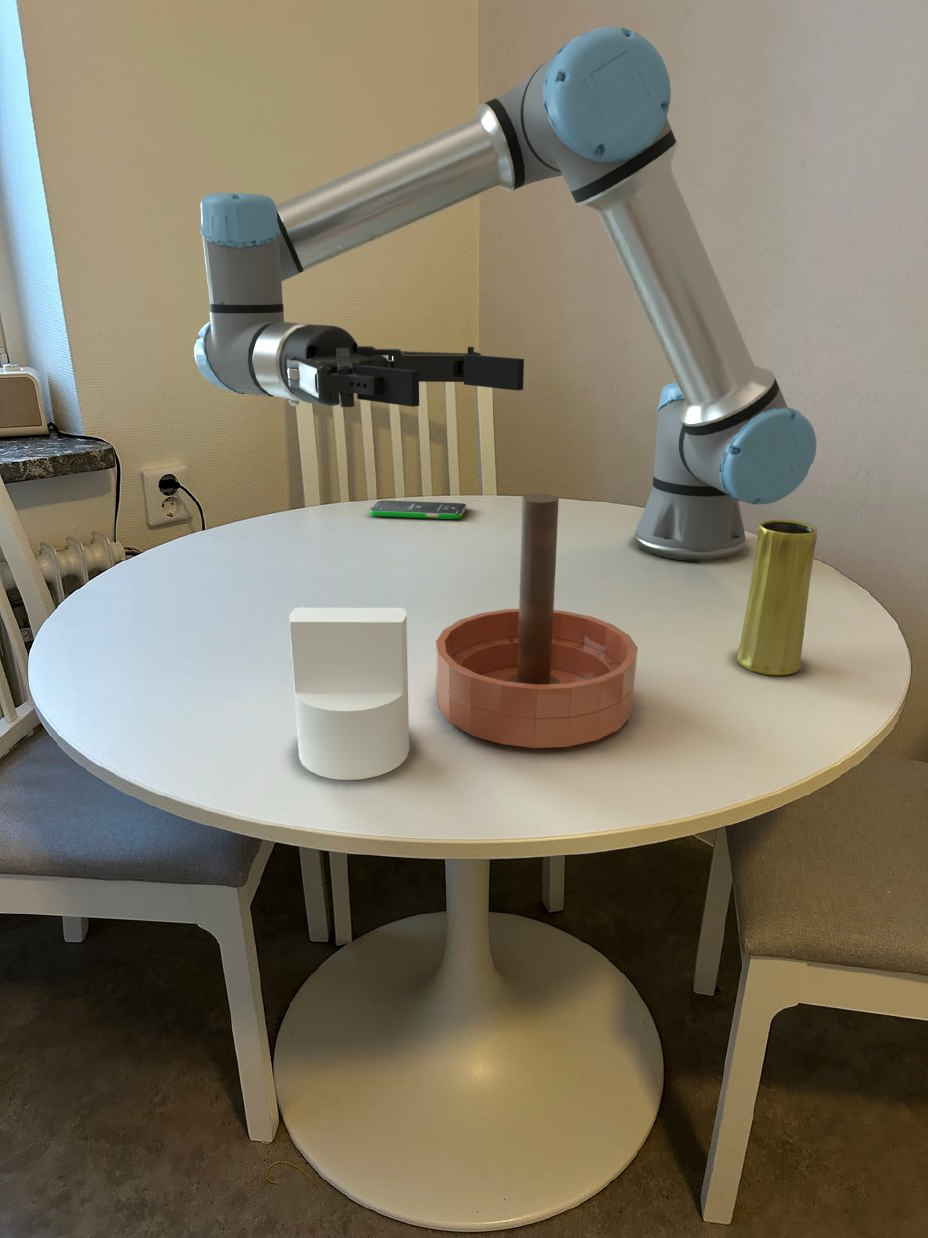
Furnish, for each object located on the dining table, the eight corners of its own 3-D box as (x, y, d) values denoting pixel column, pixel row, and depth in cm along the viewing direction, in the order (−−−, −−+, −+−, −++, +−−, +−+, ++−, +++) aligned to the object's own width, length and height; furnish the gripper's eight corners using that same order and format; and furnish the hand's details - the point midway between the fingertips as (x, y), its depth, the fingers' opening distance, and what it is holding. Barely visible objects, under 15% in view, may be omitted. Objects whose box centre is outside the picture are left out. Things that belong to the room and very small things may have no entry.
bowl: (605, 661, 88) (609, 606, 86) (655, 749, 72) (662, 684, 70) (432, 666, 87) (431, 610, 85) (443, 758, 71) (442, 692, 68)
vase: (800, 680, 84) (822, 538, 79) (734, 671, 86) (752, 531, 81) (800, 656, 90) (822, 521, 84) (738, 647, 92) (755, 515, 86)
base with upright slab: (289, 780, 68) (278, 637, 63) (308, 724, 76) (299, 594, 72) (406, 780, 68) (402, 637, 63) (412, 724, 76) (409, 594, 72)
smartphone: (378, 499, 146) (467, 502, 144) (378, 505, 146) (467, 508, 144) (367, 510, 139) (461, 514, 137) (367, 516, 139) (461, 520, 137)
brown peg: (554, 685, 82) (563, 490, 75) (564, 709, 77) (574, 504, 70) (503, 687, 81) (508, 491, 74) (510, 711, 77) (515, 505, 70)
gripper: (399, 390, 97) (556, 410, 84) (205, 416, 80) (364, 446, 67) (398, 319, 94) (559, 328, 81) (196, 329, 77) (360, 343, 64)
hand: (472, 381), depth 74 cm, fingers open, 13 cm apart
